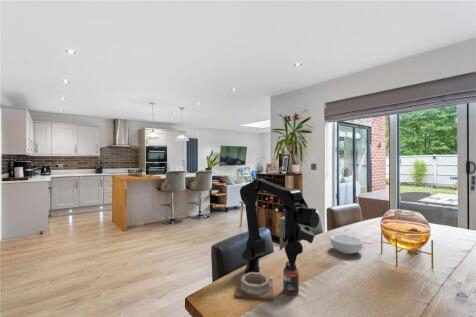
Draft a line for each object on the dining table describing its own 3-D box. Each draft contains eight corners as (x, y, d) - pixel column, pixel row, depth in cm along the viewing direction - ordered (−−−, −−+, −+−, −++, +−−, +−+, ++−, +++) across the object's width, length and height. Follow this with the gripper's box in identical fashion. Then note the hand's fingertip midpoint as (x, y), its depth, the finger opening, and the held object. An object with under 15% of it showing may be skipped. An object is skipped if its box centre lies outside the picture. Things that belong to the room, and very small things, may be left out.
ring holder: (239, 278, 103) (239, 269, 103) (272, 281, 101) (272, 271, 101) (235, 297, 89) (235, 286, 89) (273, 300, 88) (273, 290, 88)
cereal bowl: (368, 258, 127) (368, 244, 127) (336, 257, 128) (337, 244, 128) (353, 246, 144) (353, 234, 144) (325, 245, 145) (326, 233, 144)
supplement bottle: (296, 287, 97) (296, 259, 97) (300, 296, 91) (301, 266, 91) (281, 287, 96) (282, 259, 96) (285, 296, 91) (285, 266, 90)
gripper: (318, 230, 83) (317, 274, 83) (309, 217, 102) (308, 253, 102) (285, 228, 85) (284, 272, 85) (282, 215, 103) (281, 251, 103)
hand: (291, 261), depth 94 cm, fingers open, 9 cm apart
